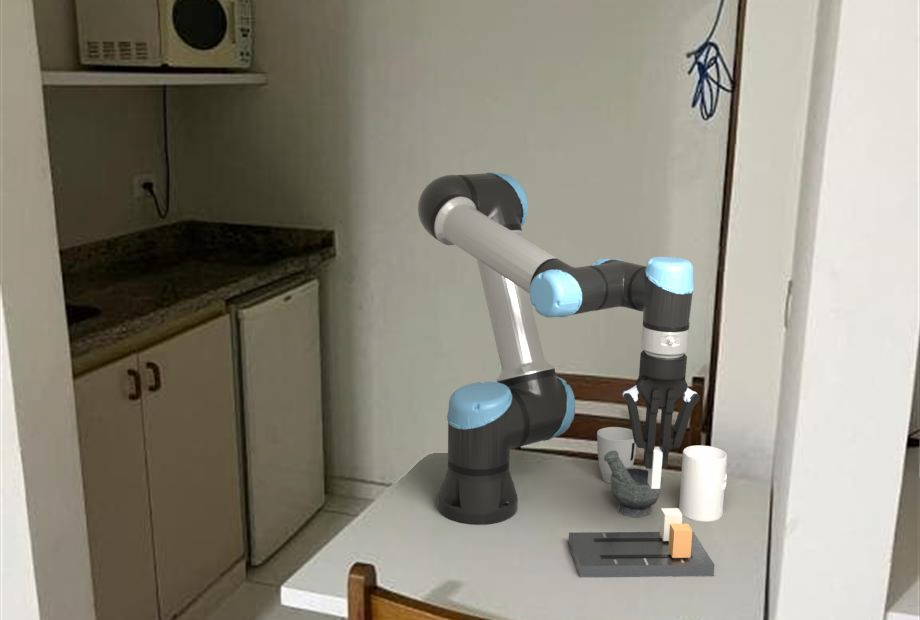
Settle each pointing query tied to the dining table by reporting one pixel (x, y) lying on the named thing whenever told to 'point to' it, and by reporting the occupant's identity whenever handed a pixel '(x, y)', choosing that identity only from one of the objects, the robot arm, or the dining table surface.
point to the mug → (703, 483)
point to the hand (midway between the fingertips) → (653, 485)
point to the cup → (615, 448)
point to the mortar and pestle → (631, 488)
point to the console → (634, 555)
